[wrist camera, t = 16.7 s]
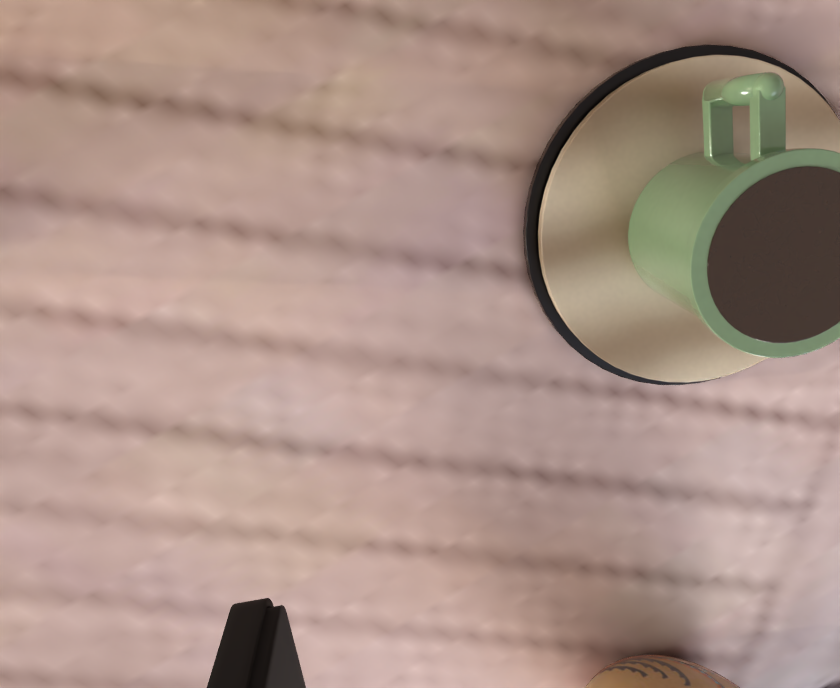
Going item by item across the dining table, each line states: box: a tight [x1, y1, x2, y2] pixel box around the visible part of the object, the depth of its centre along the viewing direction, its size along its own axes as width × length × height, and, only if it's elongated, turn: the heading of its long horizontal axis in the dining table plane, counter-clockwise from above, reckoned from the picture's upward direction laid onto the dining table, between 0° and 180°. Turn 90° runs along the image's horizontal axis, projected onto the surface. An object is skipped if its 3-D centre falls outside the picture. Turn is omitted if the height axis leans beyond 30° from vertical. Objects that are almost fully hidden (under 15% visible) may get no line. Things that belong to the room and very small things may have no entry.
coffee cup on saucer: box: [538, 55, 840, 382], centre depth 29 cm, size 15×15×8 cm
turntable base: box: [523, 45, 837, 385], centre depth 34 cm, size 16×16×1 cm
